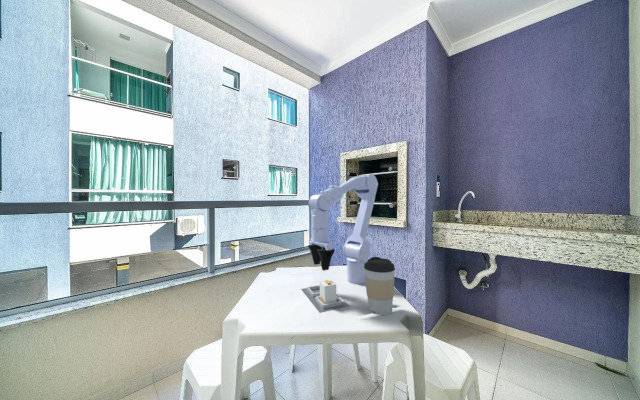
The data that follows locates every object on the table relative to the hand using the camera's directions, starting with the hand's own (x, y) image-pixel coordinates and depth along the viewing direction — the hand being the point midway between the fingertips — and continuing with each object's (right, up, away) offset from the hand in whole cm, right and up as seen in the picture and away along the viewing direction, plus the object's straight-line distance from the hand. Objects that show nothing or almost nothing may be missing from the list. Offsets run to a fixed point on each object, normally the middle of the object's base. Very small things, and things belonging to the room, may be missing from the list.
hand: (321, 266), depth 78 cm
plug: (+2, -9, -8) cm, 12 cm away
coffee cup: (+18, -10, -11) cm, 23 cm away
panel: (+1, -10, -3) cm, 10 cm away
